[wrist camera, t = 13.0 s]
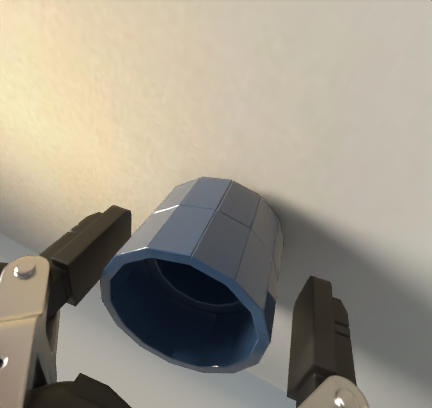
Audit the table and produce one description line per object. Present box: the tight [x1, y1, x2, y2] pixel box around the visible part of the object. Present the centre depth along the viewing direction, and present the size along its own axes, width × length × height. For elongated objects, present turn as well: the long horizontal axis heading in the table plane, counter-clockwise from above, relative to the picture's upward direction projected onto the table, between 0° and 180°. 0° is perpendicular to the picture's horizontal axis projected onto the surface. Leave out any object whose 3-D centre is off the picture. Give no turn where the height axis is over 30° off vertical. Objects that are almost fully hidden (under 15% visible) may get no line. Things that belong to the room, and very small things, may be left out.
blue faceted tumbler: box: [100, 177, 283, 373], centre depth 11 cm, size 6×6×6 cm
